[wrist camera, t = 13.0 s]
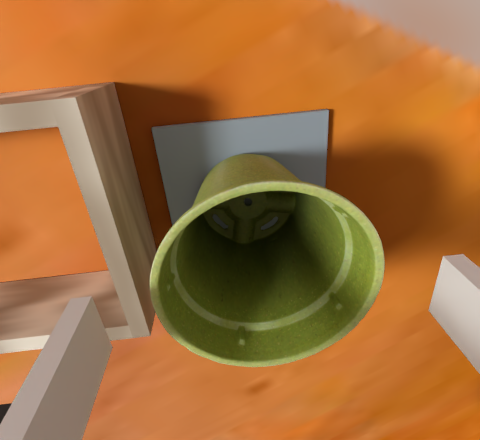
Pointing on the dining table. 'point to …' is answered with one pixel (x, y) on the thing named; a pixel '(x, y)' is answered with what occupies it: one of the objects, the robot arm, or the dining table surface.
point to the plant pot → (265, 267)
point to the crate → (101, 213)
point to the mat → (239, 151)
